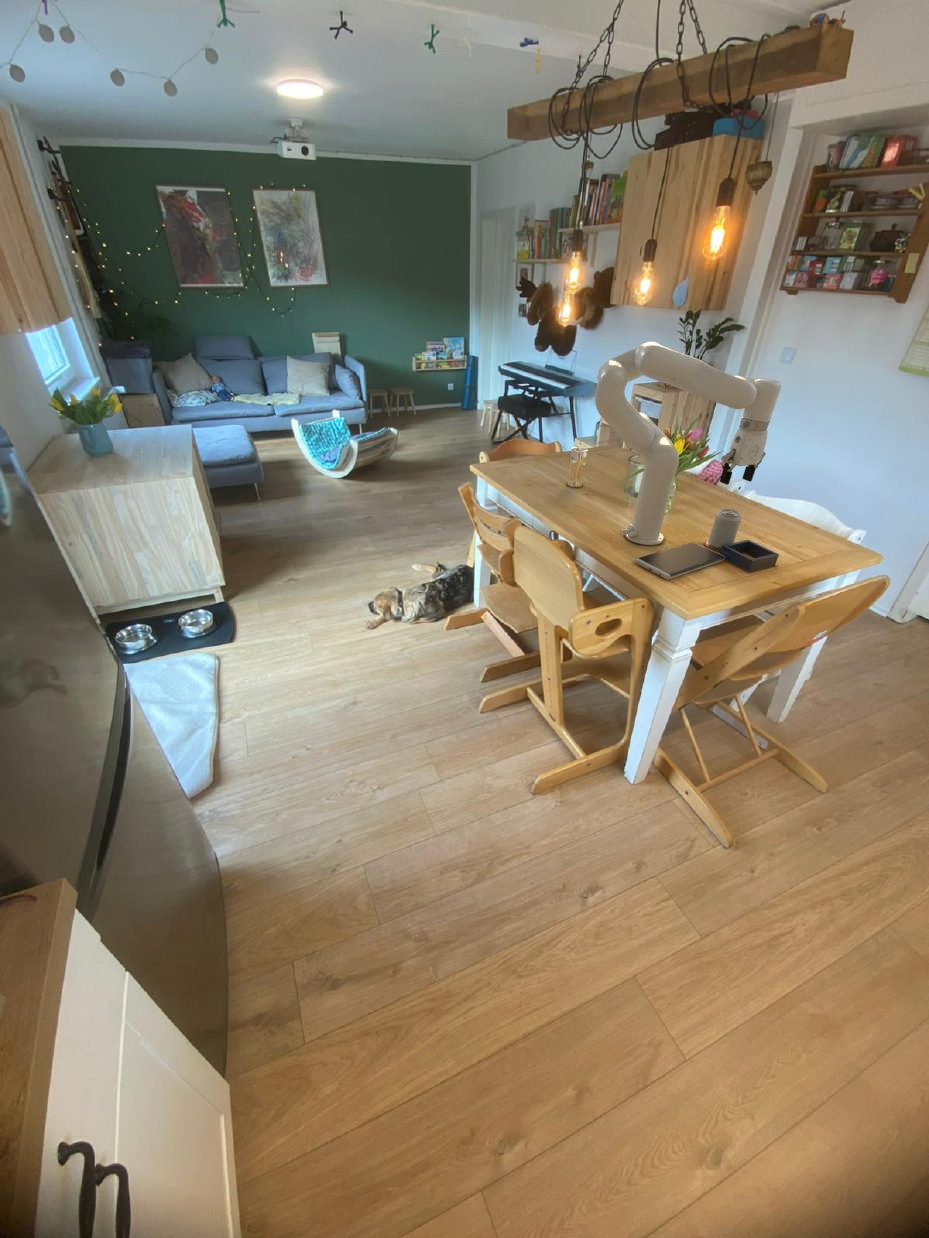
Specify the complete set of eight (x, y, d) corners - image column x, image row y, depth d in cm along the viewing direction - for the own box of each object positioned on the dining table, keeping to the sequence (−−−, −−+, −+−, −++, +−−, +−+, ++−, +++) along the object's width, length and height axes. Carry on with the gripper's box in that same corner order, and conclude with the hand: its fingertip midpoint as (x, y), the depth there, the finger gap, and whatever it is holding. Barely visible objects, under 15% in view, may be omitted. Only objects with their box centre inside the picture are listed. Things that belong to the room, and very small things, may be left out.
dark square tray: (748, 572, 161) (752, 560, 158) (718, 556, 169) (722, 545, 167) (774, 566, 165) (779, 554, 163) (744, 550, 174) (748, 539, 171)
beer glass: (585, 484, 225) (590, 448, 217) (579, 488, 220) (584, 452, 212) (570, 481, 228) (574, 446, 220) (563, 485, 223) (568, 449, 215)
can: (707, 548, 173) (717, 513, 167) (707, 539, 179) (717, 505, 173) (732, 552, 171) (743, 517, 164) (731, 543, 177) (742, 509, 170)
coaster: (719, 554, 171) (720, 553, 170) (699, 544, 177) (700, 542, 177) (738, 550, 174) (739, 549, 173) (718, 540, 180) (718, 538, 180)
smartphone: (633, 563, 164) (634, 558, 163) (690, 545, 176) (692, 540, 175) (667, 581, 154) (668, 576, 154) (725, 561, 167) (727, 556, 166)
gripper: (742, 430, 150) (724, 488, 160) (785, 426, 157) (765, 482, 166) (722, 423, 156) (705, 480, 165) (764, 420, 162) (745, 475, 172)
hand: (735, 481), depth 166 cm, fingers open, 9 cm apart
